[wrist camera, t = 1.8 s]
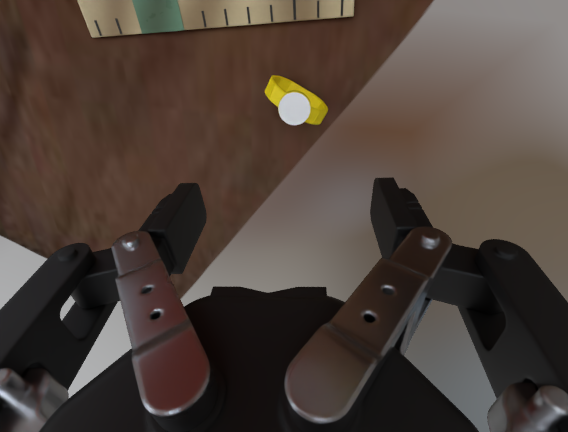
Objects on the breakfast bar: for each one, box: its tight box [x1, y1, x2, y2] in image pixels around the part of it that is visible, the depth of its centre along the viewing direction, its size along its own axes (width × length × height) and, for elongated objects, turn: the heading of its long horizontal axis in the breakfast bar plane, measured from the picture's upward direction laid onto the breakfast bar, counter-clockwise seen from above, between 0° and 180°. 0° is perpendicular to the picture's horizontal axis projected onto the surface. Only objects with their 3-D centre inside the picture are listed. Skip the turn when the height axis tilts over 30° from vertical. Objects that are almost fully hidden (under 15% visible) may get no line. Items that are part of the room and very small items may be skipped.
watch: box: [265, 75, 328, 125], centre depth 27 cm, size 6×3×6 cm, turn 62°
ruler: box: [77, 0, 354, 38], centre depth 25 cm, size 24×3×1 cm, turn 94°
